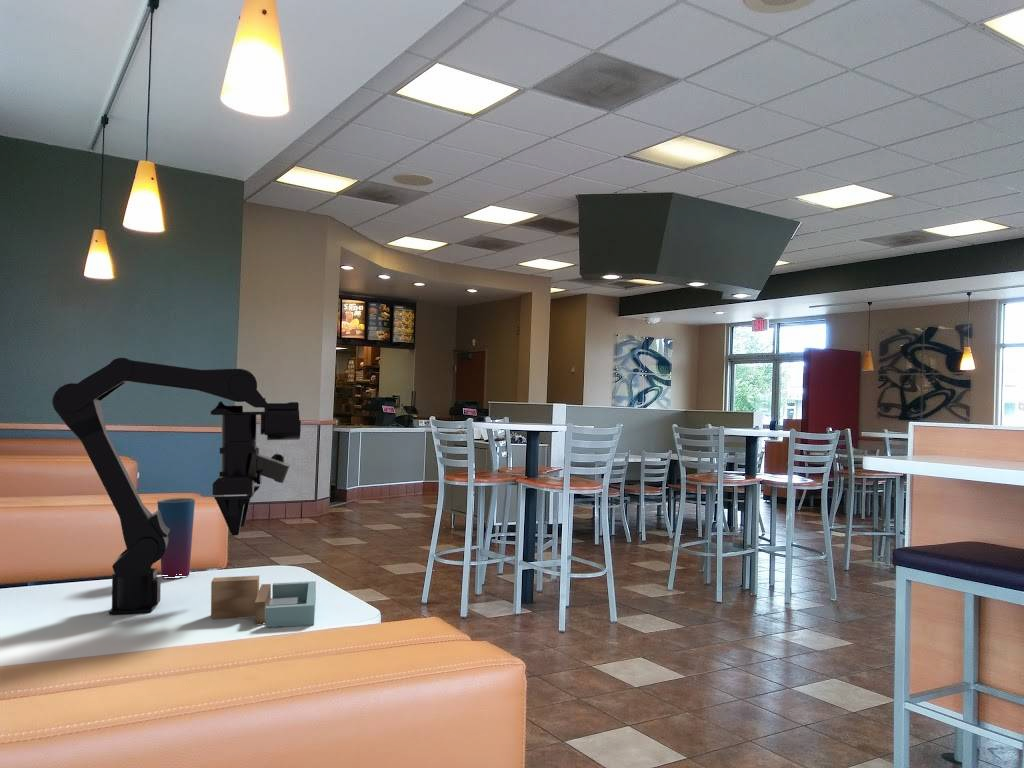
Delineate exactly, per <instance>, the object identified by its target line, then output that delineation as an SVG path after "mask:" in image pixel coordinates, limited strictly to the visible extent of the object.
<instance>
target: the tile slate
mask: <svg viewBox="0 0 1024 768" xmlns="http://www.w3.org/2000/svg"><path fill="white" fill-rule="evenodd" d="M294 604H299V601H298V597H285V598H272V597H271V599H270V603H269V606H277V605H294Z"/></svg>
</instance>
